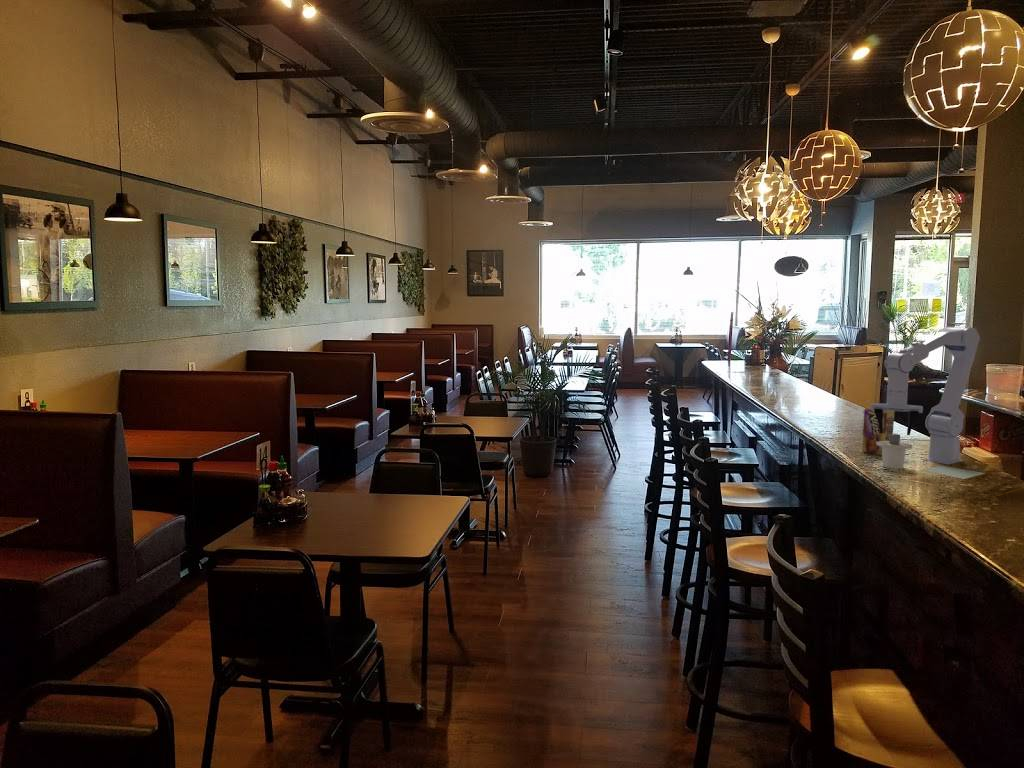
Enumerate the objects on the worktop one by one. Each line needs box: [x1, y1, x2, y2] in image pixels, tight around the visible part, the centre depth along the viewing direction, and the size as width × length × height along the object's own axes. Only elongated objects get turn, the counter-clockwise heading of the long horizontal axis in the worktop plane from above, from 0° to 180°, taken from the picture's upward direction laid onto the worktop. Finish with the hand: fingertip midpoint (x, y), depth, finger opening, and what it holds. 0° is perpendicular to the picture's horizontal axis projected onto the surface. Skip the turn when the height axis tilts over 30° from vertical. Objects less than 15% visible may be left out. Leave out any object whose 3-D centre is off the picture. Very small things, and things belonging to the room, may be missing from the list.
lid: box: [876, 433, 913, 450], centre depth 231 cm, size 10×10×4 cm
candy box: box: [861, 407, 895, 456], centre depth 253 cm, size 9×4×15 cm, turn 26°
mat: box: [919, 464, 986, 480], centre depth 225 cm, size 13×13×1 cm
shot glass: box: [881, 447, 907, 470], centre depth 232 cm, size 7×7×7 cm
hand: (894, 433), depth 233 cm, fingers open, 7 cm apart
